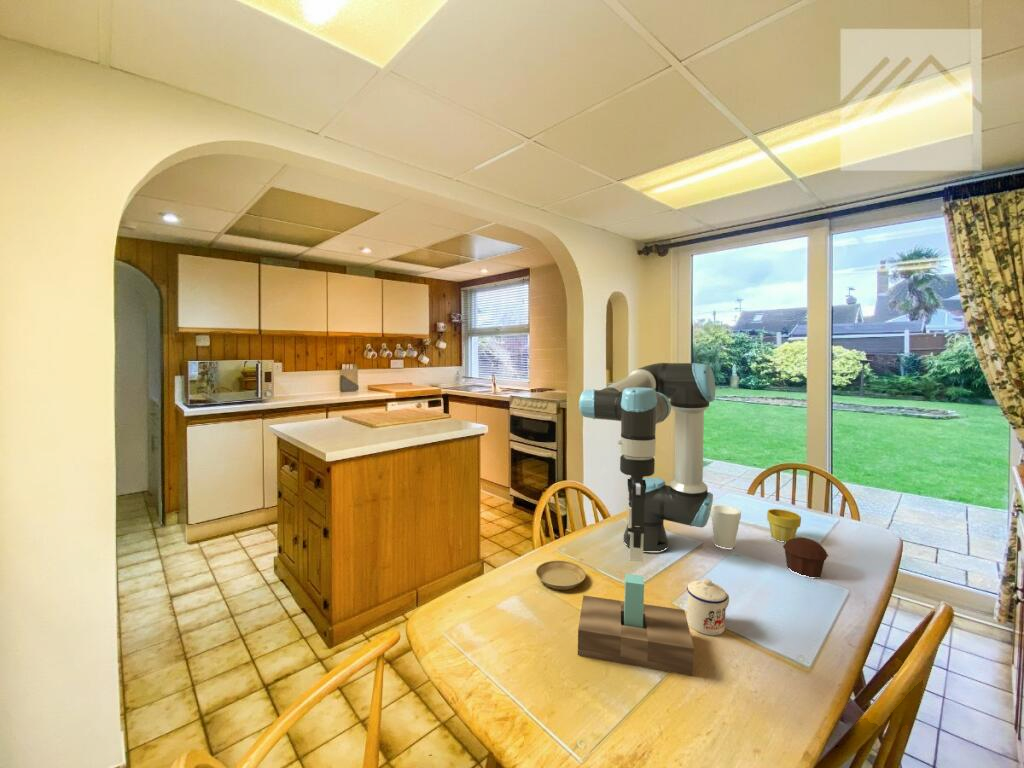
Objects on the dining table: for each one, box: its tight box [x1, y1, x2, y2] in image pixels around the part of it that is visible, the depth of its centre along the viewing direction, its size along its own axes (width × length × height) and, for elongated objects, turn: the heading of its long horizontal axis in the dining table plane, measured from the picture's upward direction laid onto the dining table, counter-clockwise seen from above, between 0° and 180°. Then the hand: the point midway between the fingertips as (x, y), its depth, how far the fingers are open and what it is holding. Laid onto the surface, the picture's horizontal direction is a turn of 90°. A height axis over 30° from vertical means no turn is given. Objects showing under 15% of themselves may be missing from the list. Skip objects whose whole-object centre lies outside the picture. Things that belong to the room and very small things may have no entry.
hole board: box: [577, 595, 695, 677], centre depth 99 cm, size 14×24×6 cm, turn 76°
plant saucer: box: [535, 560, 587, 591], centre depth 127 cm, size 15×15×3 cm
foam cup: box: [710, 504, 742, 548], centre depth 151 cm, size 10×9×13 cm
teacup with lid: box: [686, 577, 730, 636], centre depth 107 cm, size 12×9×12 cm
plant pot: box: [766, 508, 802, 542], centre depth 156 cm, size 10×10×10 cm
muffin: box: [782, 537, 829, 578], centre depth 133 cm, size 12×11×10 cm
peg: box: [624, 572, 645, 628], centre depth 98 cm, size 4×4×14 cm
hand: (634, 546), depth 99 cm, fingers open, 13 cm apart
